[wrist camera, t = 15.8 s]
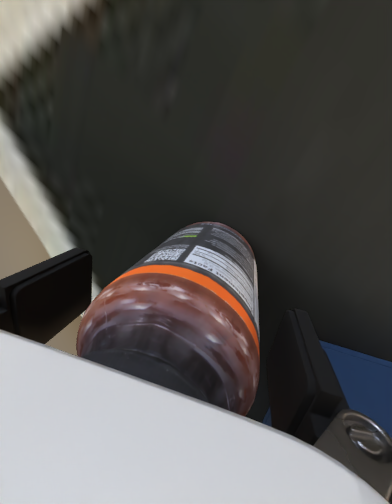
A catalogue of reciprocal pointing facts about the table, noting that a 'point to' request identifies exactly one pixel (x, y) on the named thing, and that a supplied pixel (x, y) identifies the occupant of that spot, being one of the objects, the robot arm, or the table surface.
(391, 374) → the navy bin
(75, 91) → the table surface
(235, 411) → the supplement bottle
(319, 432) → the robot arm
